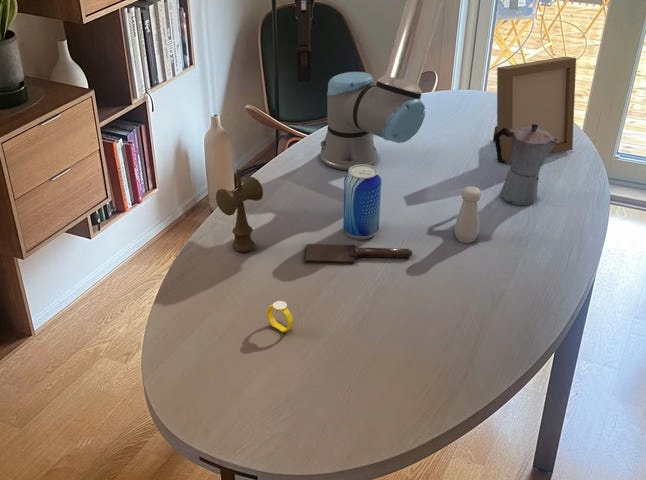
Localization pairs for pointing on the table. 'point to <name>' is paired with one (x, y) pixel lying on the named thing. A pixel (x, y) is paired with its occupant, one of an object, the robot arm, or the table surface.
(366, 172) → the beer can
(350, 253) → the spatula
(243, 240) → the kendama
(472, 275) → the table surface
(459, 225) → the salt shaker
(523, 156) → the moka pot
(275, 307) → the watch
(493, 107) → the table surface
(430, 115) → the table surface
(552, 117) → the photo frame
